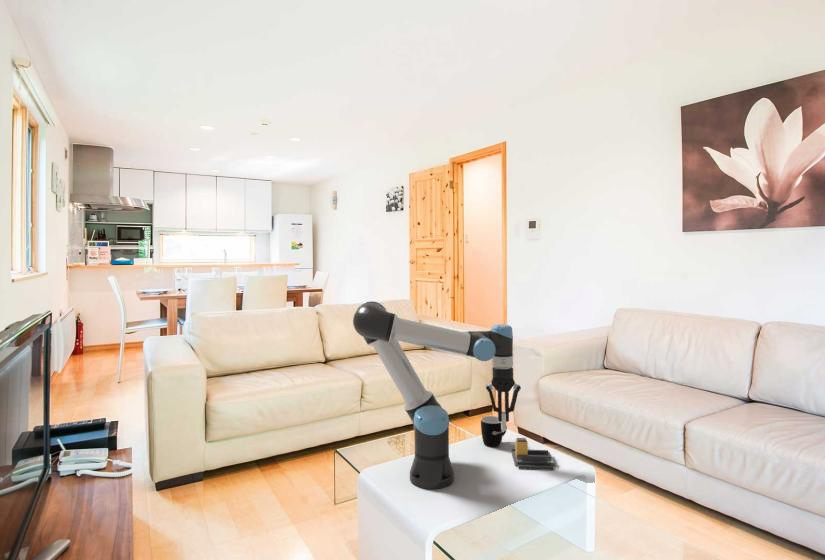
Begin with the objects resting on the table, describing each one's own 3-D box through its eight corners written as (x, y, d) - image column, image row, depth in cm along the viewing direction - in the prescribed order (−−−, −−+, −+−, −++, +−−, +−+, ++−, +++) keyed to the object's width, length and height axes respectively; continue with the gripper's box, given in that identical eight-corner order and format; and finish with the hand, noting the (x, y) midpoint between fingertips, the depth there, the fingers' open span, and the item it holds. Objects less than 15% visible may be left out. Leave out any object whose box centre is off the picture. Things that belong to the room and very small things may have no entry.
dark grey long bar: (519, 469, 168) (519, 466, 168) (518, 467, 169) (518, 465, 169) (553, 470, 167) (553, 467, 167) (552, 468, 168) (552, 466, 168)
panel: (515, 466, 170) (515, 458, 170) (512, 454, 180) (512, 447, 180) (555, 467, 169) (555, 459, 169) (549, 455, 179) (549, 448, 179)
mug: (490, 450, 185) (490, 424, 184) (476, 442, 192) (476, 418, 192) (513, 444, 191) (513, 419, 190) (498, 437, 198) (498, 413, 198)
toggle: (516, 458, 173) (516, 440, 173) (515, 454, 177) (515, 437, 176) (527, 458, 173) (527, 440, 173) (526, 455, 176) (526, 437, 176)
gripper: (485, 369, 171) (486, 433, 172) (522, 369, 170) (522, 433, 171) (484, 364, 178) (485, 426, 179) (519, 364, 177) (520, 426, 178)
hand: (503, 429), depth 175 cm, fingers closed
